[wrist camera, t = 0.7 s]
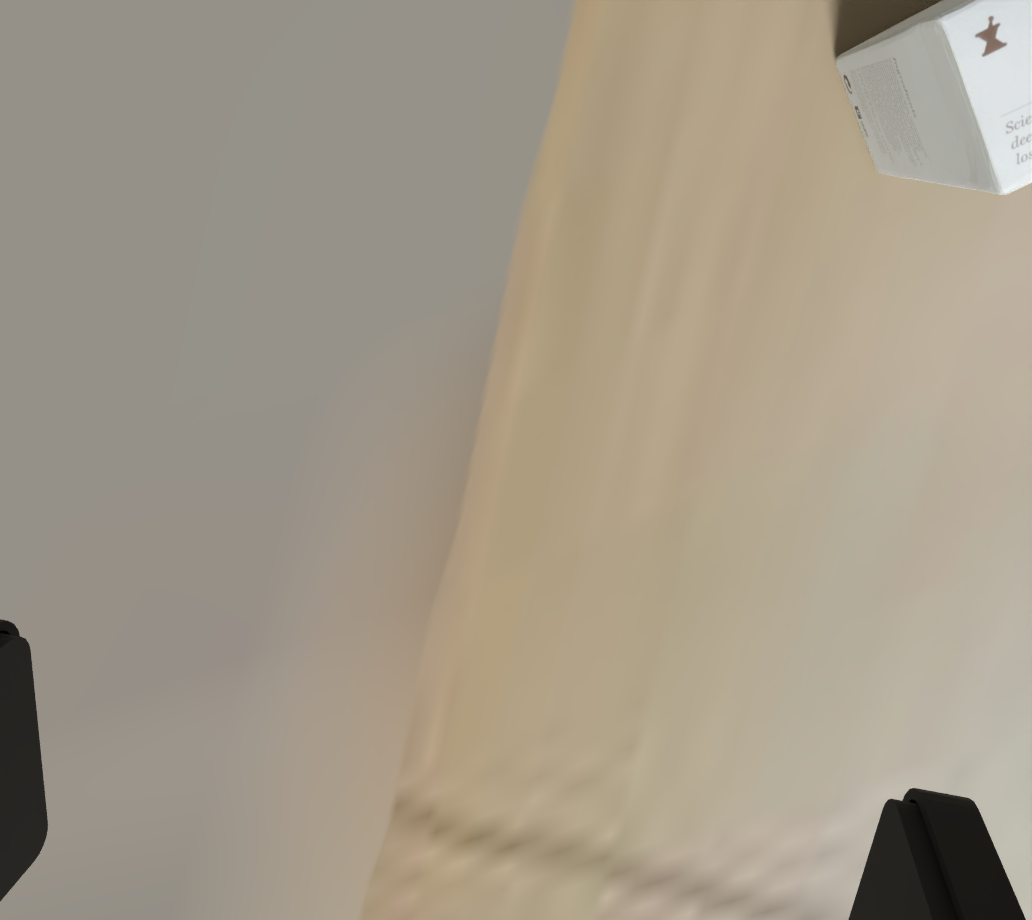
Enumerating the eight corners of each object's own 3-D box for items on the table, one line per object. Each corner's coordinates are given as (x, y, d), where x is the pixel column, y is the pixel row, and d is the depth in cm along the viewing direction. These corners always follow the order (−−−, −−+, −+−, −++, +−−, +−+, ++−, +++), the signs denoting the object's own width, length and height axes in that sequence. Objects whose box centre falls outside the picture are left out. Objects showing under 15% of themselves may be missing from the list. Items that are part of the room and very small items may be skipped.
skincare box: (878, 179, 32) (994, 221, 20) (827, 50, 31) (920, 19, 19) (1070, 86, 30) (1312, 76, 19) (1023, -54, 29) (1251, -154, 18)
